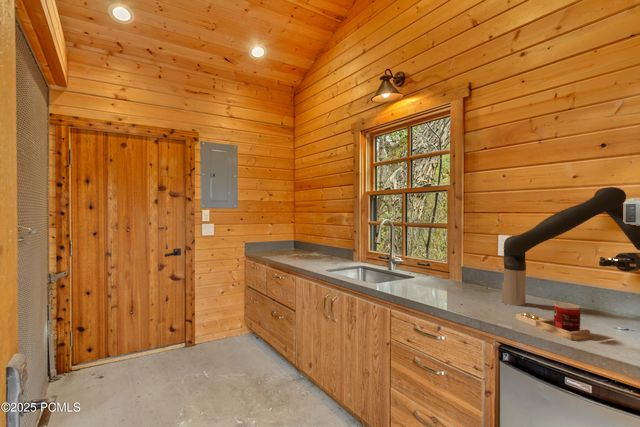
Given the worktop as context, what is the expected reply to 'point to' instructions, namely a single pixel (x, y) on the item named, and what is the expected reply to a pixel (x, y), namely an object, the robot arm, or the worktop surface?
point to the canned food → (567, 316)
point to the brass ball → (535, 317)
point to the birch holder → (561, 330)
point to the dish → (527, 319)
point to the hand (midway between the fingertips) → (601, 263)
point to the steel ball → (527, 315)
